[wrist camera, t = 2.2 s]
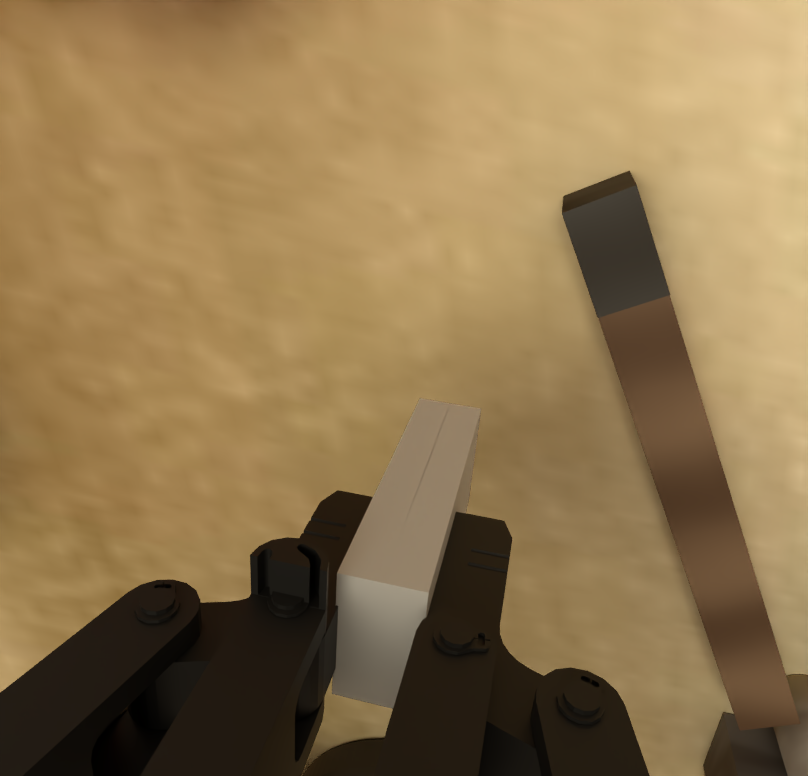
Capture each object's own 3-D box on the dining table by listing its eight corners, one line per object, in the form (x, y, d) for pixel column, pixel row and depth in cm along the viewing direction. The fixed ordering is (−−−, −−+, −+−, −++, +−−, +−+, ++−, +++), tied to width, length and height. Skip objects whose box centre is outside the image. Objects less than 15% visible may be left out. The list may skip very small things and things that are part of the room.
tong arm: (780, 663, 34) (801, 723, 31) (724, 670, 35) (739, 730, 32) (629, 170, 27) (636, 184, 24) (563, 196, 28) (562, 213, 24)
